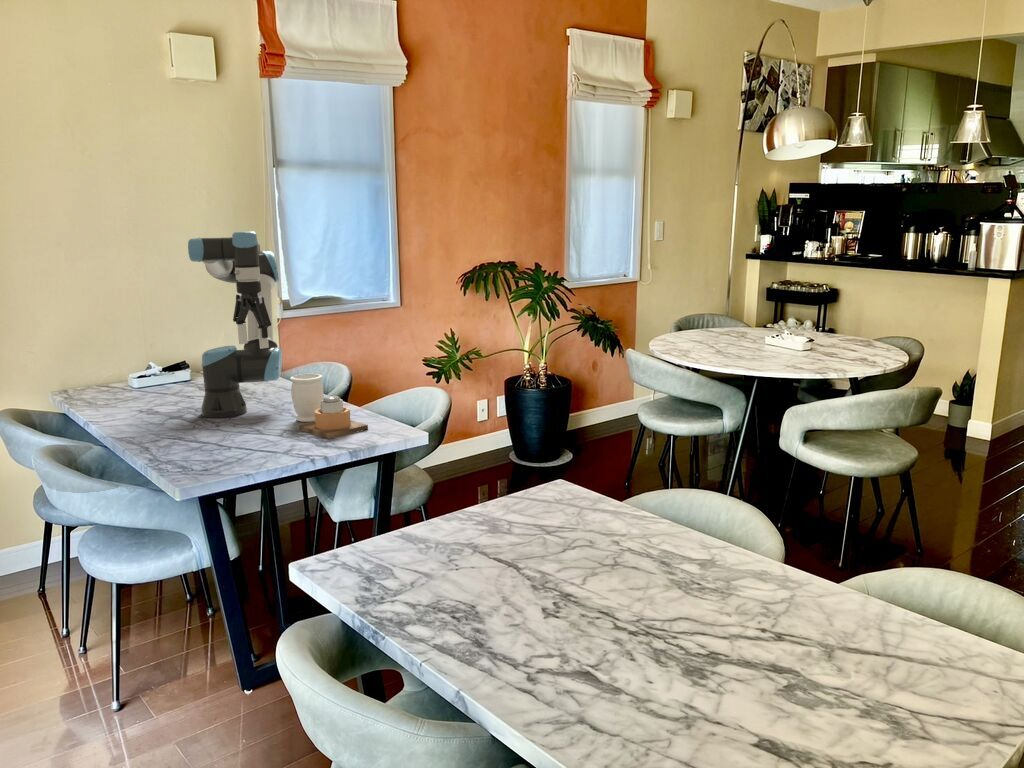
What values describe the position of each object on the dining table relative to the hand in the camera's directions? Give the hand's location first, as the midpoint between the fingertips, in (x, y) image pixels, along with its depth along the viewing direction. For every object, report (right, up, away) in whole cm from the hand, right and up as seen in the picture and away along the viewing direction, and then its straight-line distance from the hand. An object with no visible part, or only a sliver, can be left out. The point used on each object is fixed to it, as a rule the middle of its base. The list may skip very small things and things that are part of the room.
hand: (253, 345), depth 268 cm
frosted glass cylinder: (+26, -26, -2) cm, 37 cm away
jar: (+15, -25, +12) cm, 31 cm away
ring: (+26, -26, -2) cm, 37 cm away
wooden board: (+26, -27, -1) cm, 38 cm away
